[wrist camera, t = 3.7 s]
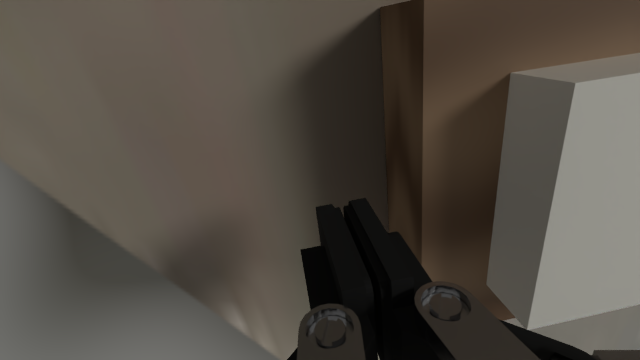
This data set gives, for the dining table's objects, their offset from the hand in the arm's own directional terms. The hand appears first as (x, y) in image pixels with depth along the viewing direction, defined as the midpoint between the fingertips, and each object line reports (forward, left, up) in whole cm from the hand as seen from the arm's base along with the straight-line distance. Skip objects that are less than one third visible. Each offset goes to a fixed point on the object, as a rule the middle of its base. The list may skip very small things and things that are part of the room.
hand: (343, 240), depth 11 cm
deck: (0, +10, -5) cm, 11 cm away
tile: (0, +9, -1) cm, 9 cm away
